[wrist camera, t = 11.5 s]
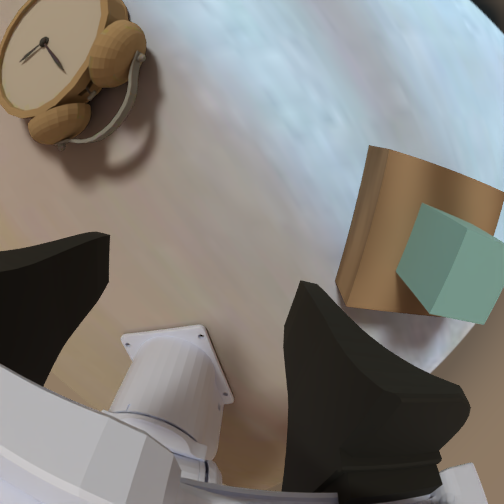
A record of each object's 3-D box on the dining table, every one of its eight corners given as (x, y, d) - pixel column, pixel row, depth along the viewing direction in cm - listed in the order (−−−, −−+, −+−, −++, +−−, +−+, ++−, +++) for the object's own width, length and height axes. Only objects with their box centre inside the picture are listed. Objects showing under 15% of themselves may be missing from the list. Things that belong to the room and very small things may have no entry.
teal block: (472, 224, 17) (518, 252, 12) (446, 285, 18) (483, 324, 14) (421, 202, 16) (467, 228, 12) (395, 271, 18) (429, 313, 13)
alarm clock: (68, -46, 10) (163, 43, 12) (100, -23, 15) (195, 71, 17) (-20, 63, 13) (35, 191, 15) (18, 71, 18) (82, 185, 20)
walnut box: (475, 181, 19) (505, 192, 16) (438, 293, 23) (459, 318, 19) (367, 144, 19) (389, 149, 15) (334, 278, 23) (345, 306, 19)
